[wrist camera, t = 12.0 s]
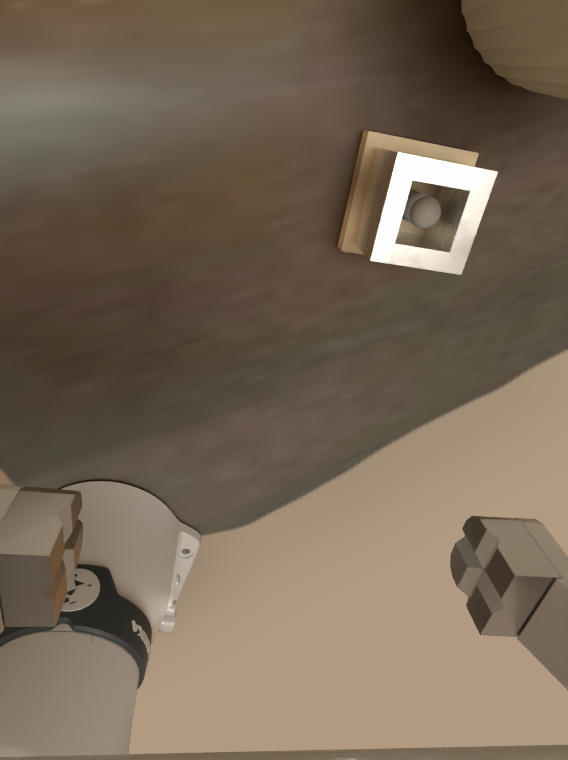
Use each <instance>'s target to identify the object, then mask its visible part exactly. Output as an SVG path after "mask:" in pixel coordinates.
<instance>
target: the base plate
mask: <svg viewBox="0 0 568 760" xmlns="http://www.w3.org/2000/svg"><path fill="white" fill-rule="evenodd" d="M376 148H381V149H386V150H391V151H396V152H401V153H406V154H411V155H417V156H422V157H427V158H432V159H437V160H442V161H447V162H452V163H457V164H463V165H467V166H472V167H475V164H476V161H477V157H478V154H479V153H476V152H471V151H466V150H461V149H456V148H451V147H446V146H441V145H436V144H431V143H426V142H421V141H416V140H411V139H406V138H401V137H396V136H391V135H386V134H381V133H376V132H372V131H365V130H363V134H362V139H361V143H360V148H359V152H358V157H357V161H356V166H355V170H354V174H353V179H352V183H351V188H350V192H349V197H348V201H347V206H346V210H345V215H344V219H343V224H342V228H341V233H340V237H339V242H338V247H339V249H340V250H341V251H345V252H351V253H357V254H363V253H362V252H361V251H360V250H359V248H358V247H357V246H356V245H355V244H354V243H353V241H354V237H355V233H356V228H357V224H358V220H359V216H360V212H361V207H362V203H363V199H364V195H365V191H366V186H367V182H368V178H369V174H370V170H371V165H372V161H373V157H374V153H375V149H376ZM437 188H438V185H436V184H431V183H426V182H420V181H415V180H412V183H411V187H410V191H409V194H408V198H407V201H406V205H405V209H404V212H403V216H402V219H401V223H400V226H399V230H398V232H404V233H410V234H416V235H422V236H423V234H424V231H425V228H429V227H431V226H433V225H434V224H435V223H436V222H437V221H438V220H439V218H440V215H441V207H440V204H439V202H438V201H437V200H436V199H435V195H436V191H437Z"/></svg>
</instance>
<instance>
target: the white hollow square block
mask: <svg viewBox="0 0 568 760" xmlns="http://www.w3.org/2000/svg"><path fill="white" fill-rule="evenodd" d="M497 173H498V172H496V171H491V170H486V169H482V168H477V167H472V166H467V165H463V164H457V163H452V162H447V161H442V160H437V159H432V158H427V157H422V156H417V155H411V154H406V153H401V152H396V151H391V150H386V149H381V148H376V149H375V153H374V157H373V161H372V165H371V170H370V174H369V178H368V182H367V186H366V191H365V195H364V199H363V203H362V207H361V212H360V216H359V220H358V224H357V228H356V233H355V237H354V241H353V243H354V244H355V245H356V246H357V247H358V248H359V250H360V251H361V252H362V253H363V254H364V255H365V256H366V257H367V258H368V259H369V260H370V261H375V262H382V263H388V264H395V265H401V266H408V267H414V268H421V269H427V270H434V271H440V272H447V273H453V274H459V275H461V274H462V271H463V269H464V266H465V263H466V260H467V257H468V254H469V252H470V249H471V246H472V243H473V240H474V238H475V235H476V232H477V229H478V226H479V224H480V221H481V218H482V215H483V212H484V209H485V207H486V204H487V201H488V198H489V195H490V193H491V190H492V187H493V184H494V181H495V179H496V176H497ZM412 180H415V181H420V182H426V183H431V184H436V185H438V188H437V191H436V195H435V199H436V200H437V201H438V202H439V204H440V207H441V215H440V218H439V220H438V221H437V222H436V223H435V224H434V225H433V226H431V227H429V228H425V231H424V234H423V236H422V235H416V234H410V233H404V232H398V230H399V226H400V223H401V219H402V216H403V212H404V209H405V205H406V201H407V198H408V194H409V191H410V187H411V183H412Z"/></svg>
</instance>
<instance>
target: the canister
mask: <svg viewBox="0 0 568 760" xmlns="http://www.w3.org/2000/svg"><path fill="white" fill-rule="evenodd" d="M461 3H462V10H461V12H462V14H463V15H464V18H465V21H466V26H467V28H466V30H467V32H468V33H469V34H470V36H471V38H472V41H473V45H474V48H475V49H476V50H478V51H479V53H480V54H481V56H482V59H483V61H484V62H485V63H486V64H488V65H490V66H491V67H492V68H493V70H494V72H495V73H496V74H497V75H499V76H502V77H504V78H506V80H507V81H508V82H509V83H511V84H513V85H516V86H520V87H523V88H524V89H526V90H528V91H532V92H536V93H540V94H545V95H549V96H554V97H559V98H564V99H568V0H461Z"/></svg>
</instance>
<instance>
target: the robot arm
mask: <svg viewBox="0 0 568 760" xmlns="http://www.w3.org/2000/svg"><path fill="white" fill-rule="evenodd" d="M463 531H464V534H465V537H464V538H462V539H461V540H459V541H458V542H456V543H455V546H454V548H453V550H452V552H451V563H450V567H451V572H452V576H453V579H454V581H455V583H456V585H457V587H458V588H459V589H460V590H461V591H462V592H464V593H465V594H466V595H467V596H468V601H467V604H466V606H467V608H468V611H469V613H470V615H471V617H472V619H473V621H474V623H475V625H476V627H477V629H478V631H479V633H480V635H492V636H510V637H518V640H519V641H520V642H521V643H522V644H523V645H524V646H525V647H526V648H527V649H528V650H529V651H530V652H531V653H532V654H533V655H534V656H535V657H536V658H537V659H538V660H539V661H540V662H541V663H542V664H543V665H544V666H545V667H546V668H547V669H548V671H549V672H550V673H551V674H552V675H553V676H555V677H556V679H557V680H558V681H559V682H561V684H562V685H563V686H564V687H565V688H567V690H568V557H567V555H566V554H565V552H564V551H563V550H562V548H561V547H560V546H559V544H558V543H557V542H556V541H555V539H554V538H553V537H552V535H551V534H550V533H549V531H548V530H547V529H546V527H545V526H544V525H543V524H542V523H541V522H539V521H538V520H536V519H524V518H513V519H512V518H501V517H481V516H471V517H470V518H469V519H468V520H466V522H465V525H464V526H463ZM200 542H201V536H200V534H199V533H198V532H197V531H196V530H194V529H192V528H191V527H189V526H187V525H185V524H183V523H181V522H180V521H179V520H178V519H177V518H176V517H175V516H174V515H173V513H172V512H171V511H170V510H169V508H168V507H167V506H166V505H165V504H164V503H163V502H161V501H160V500H159V499H157V498H156V497H155V496H153V495H151V494H150V493H148V492H146V491H144V490H141V489H139V488H136V487H133V486H130V485H126V484H122V483H116V482H108V481H93V482H84V483H78V484H74V485H71V486H68V487H65V488H63V489H50V488H39V487H27V486H25V487H19V486H8V485H0V760H568V745H536V746H535V745H534V746H489V747H443V748H399V749H398V748H395V749H352V750H351V749H347V750H304V751H303V750H301V751H256V752H215V753H214V752H213V753H167V754H128V753H129V744H130V735H131V728H132V720H133V713H134V706H135V700H136V694H137V689H138V688H139V687H140V685H141V684H142V682H143V680H144V676H145V672H146V670H147V667H148V663H149V658H150V652H151V651H150V650H151V647H150V646H151V644H152V642H153V640H154V638H155V635H156V633H157V631H159V632H164V633H170V632H172V631H173V627H174V623H175V618H176V609H175V608H176V602H177V600H178V598H179V595H180V593H181V590H182V588H183V585H184V583H185V581H186V578H187V576H188V573H189V571H190V569H191V566H192V564H193V561H194V559H195V557H196V554H197V552H198V549H199V547H200Z"/></svg>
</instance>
